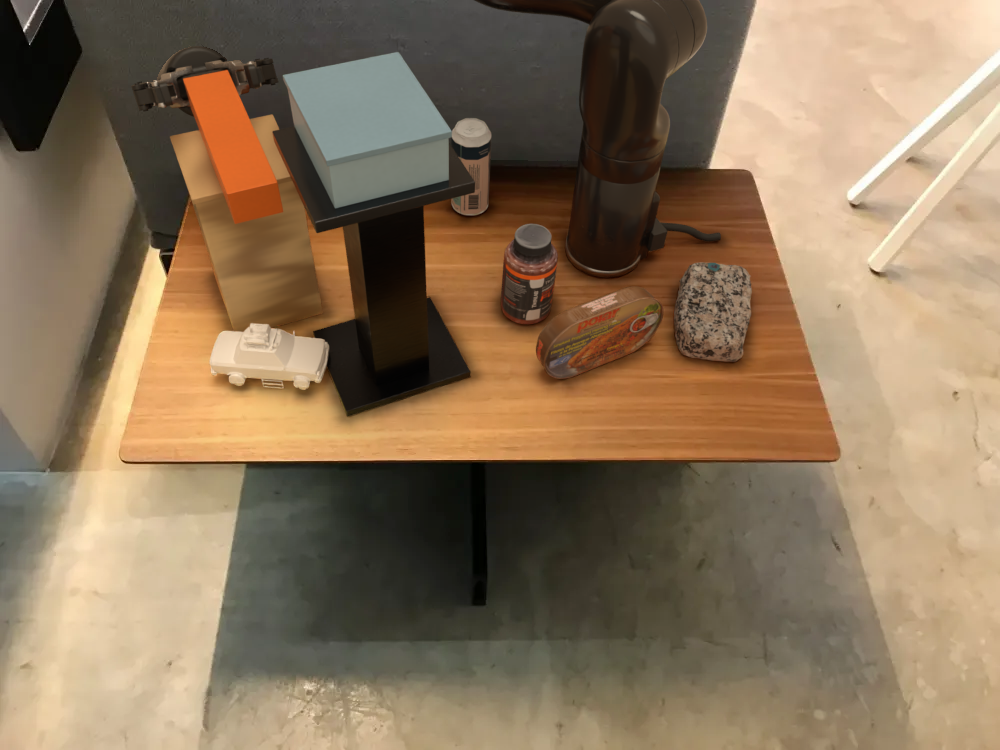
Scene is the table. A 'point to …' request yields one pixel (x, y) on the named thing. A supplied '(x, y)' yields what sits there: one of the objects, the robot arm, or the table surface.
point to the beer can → (473, 163)
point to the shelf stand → (382, 287)
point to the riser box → (253, 240)
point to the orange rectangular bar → (233, 147)
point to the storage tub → (369, 128)
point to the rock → (713, 311)
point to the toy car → (269, 356)
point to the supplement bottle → (529, 275)
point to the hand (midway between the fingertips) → (211, 85)
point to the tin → (598, 332)
